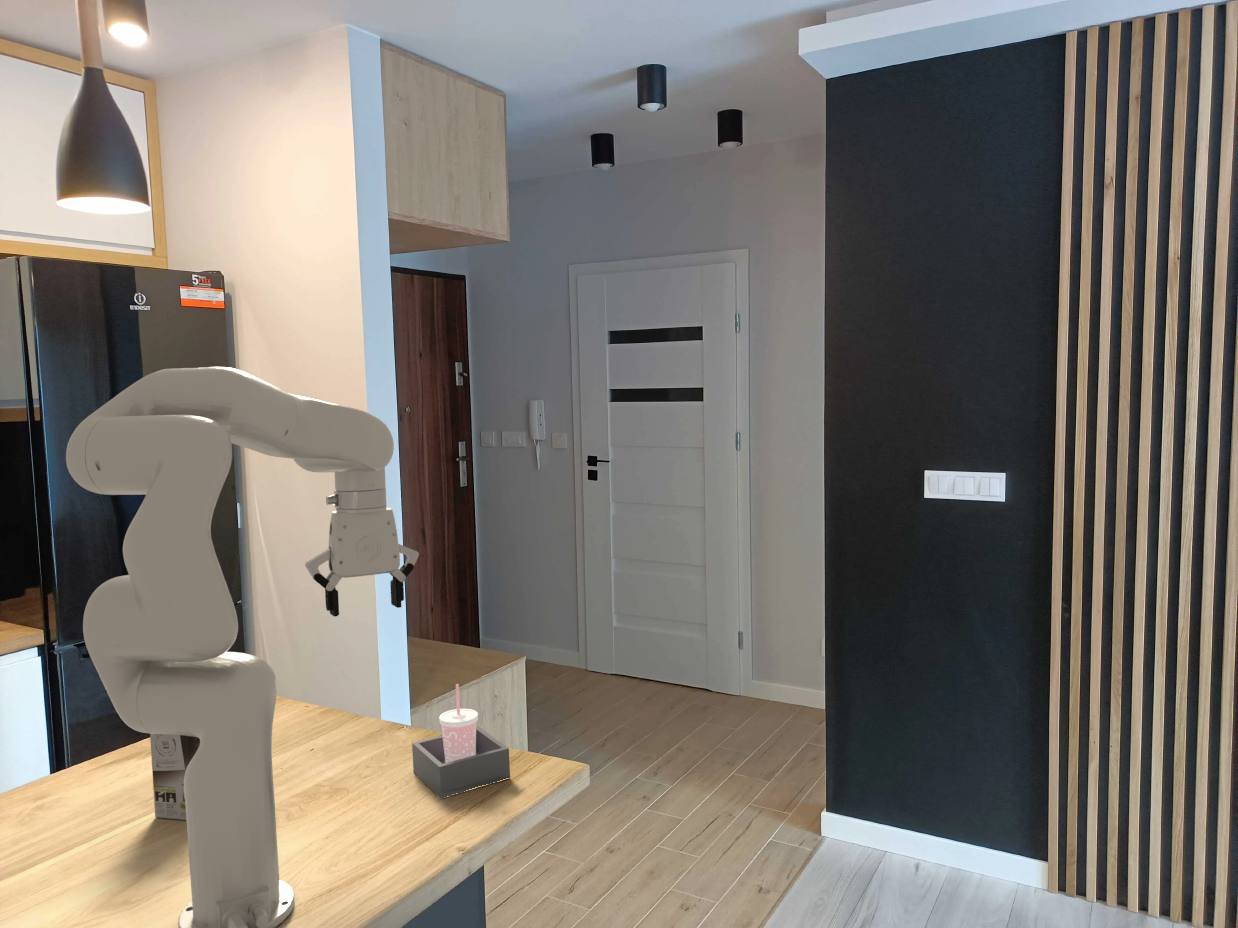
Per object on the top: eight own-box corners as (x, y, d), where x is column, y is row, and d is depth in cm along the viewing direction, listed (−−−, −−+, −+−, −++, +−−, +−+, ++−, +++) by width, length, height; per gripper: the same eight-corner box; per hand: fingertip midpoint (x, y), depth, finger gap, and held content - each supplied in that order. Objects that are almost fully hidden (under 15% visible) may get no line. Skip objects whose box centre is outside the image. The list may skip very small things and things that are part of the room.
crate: (510, 778, 140) (508, 748, 139) (440, 798, 133) (439, 766, 133) (479, 754, 150) (478, 726, 149) (413, 772, 143) (412, 742, 143)
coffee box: (192, 821, 129) (184, 713, 127) (153, 818, 130) (145, 711, 129) (231, 793, 138) (225, 692, 136) (195, 790, 139) (188, 690, 138)
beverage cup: (434, 769, 142) (430, 684, 141) (468, 758, 146) (465, 675, 145) (452, 781, 137) (448, 693, 136) (487, 770, 141) (483, 684, 140)
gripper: (308, 507, 129) (313, 623, 130) (423, 498, 138) (427, 607, 139) (298, 503, 135) (303, 613, 136) (408, 495, 144) (412, 599, 145)
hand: (365, 610), depth 138 cm, fingers open, 9 cm apart
